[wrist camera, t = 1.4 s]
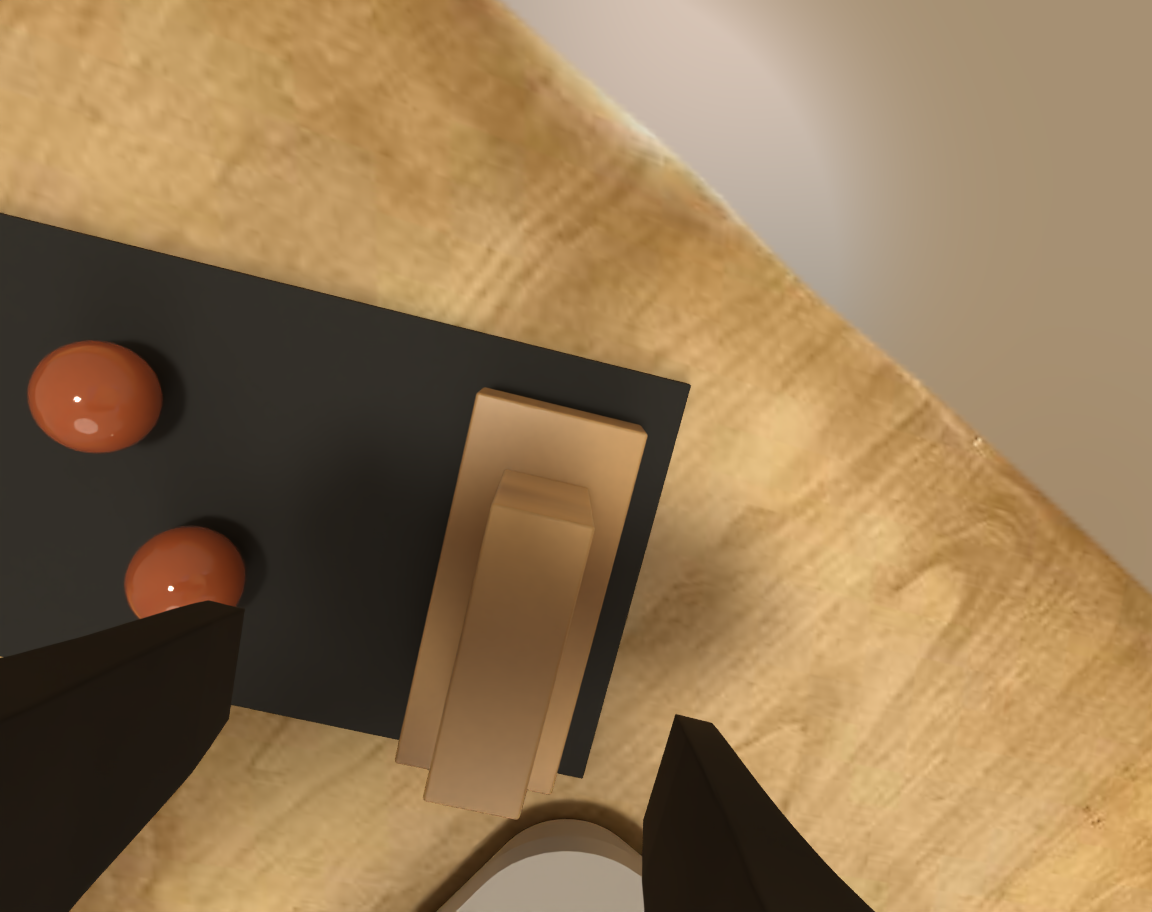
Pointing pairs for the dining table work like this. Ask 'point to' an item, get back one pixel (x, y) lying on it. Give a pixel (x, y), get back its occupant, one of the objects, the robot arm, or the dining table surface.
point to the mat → (279, 467)
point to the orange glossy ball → (95, 396)
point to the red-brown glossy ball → (184, 571)
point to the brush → (516, 599)
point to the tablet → (556, 873)
